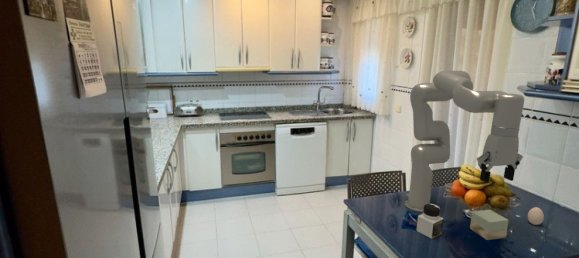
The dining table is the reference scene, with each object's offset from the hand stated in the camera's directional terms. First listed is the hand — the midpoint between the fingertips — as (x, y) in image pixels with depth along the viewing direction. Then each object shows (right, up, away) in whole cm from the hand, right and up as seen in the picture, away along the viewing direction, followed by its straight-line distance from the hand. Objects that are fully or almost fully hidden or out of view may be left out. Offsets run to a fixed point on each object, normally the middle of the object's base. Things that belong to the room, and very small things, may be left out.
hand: (496, 180), depth 105 cm
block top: (+12, -22, +23) cm, 34 cm away
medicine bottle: (-12, -26, +23) cm, 37 cm away
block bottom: (+12, -26, +23) cm, 37 cm away
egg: (+37, -25, +31) cm, 54 cm away
